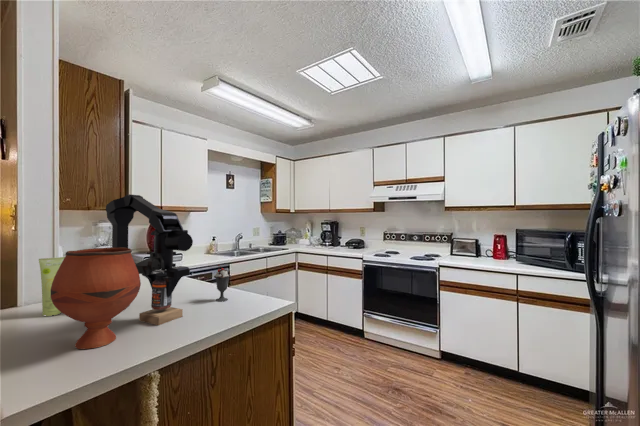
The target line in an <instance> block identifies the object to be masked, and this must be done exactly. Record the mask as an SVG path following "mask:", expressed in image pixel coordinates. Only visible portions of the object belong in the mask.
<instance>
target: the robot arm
mask: <svg viewBox="0 0 640 426" xmlns="http://www.w3.org/2000/svg"><path fill="white" fill-rule="evenodd" d="M105 212H106V218H107V220H108V221H109V222H110V224H111V227H112V231H111V232H112V233H111V234H112V235H111V237H112V238H111V241H112V242H111V243H112V244H111V247H124V248H129V225H130V224H131V222H132V221H133V219H134V215H135V213H136V212H139V213H140V214H141V215H143V216H144V217H146V218H147V219H148V223H149V224H150V226H152V228H154V230H152V231H151V233H150V235H151V236H154V243H153V244H154V246H153V252H150V253H149V257H148V258H144V259H143V260H141V261H138V262H136V263H135V265H136V267H137V270H138V272H139V275H141V276H142V277H144V278H146V279H148V282H149V285H150V287H151V289H152V284H153V281H155V280H156V274H159V273H166V274H167V276H168V277H163V279H164V280H165V281H166V293H167V297H170V296H171V294H172V295H173V293H174V291H175V289H176V287H177V285H178V284H179V281H180V280H181V279H182V278H184V277H187V276H190V273H191V269H190V268H189V266H184V265H183V266H182V265H178V266H177V265H176V263H174V255H177V252H178V251H180V252H186V251H189V250H190V249H191V248H192V246H193V242H194V240H193V238H192V236H191V235H190V234H189V230H188V229H184V227H183V226H182V225H183V224H182V223H181V222H180V219H179V217H178V215H177V213H176V212H173V211H170V210H166V209H161V208H159V207H158V206H157V205H155V204H153V203H152V202H150V201H148V200H147V199H146V198H144V197H143V196H142V195H140V194H126V195H125V196H123V197H119V198H116V199H113V200H111V201H110V202H108V203H107V204H106V206H105Z"/></svg>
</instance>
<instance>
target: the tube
mask: <svg viewBox="0 0 640 426" xmlns="http://www.w3.org/2000/svg"><path fill="white" fill-rule="evenodd" d="M64 258H65V256H62V257H61V256H58V257H45V258H38V263H39V269H40V270H39V271H40V280H41V301H42V304H41V305H42V306H41V307H42V316H43V315H46V316H45V317H53V316H52V315H54V316H57V315H61V314H62V313H61V312H60V311H59V310H58V309H57V308H56V307H55V306H54V304H53V302H52V300H51V286H52V282H53V280H54V277H55V275H56V273H57V271H58V269H59V267H60V265H61V263H62V262H63V260H64ZM60 313H61V314H60Z"/></svg>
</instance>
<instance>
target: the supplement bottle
mask: <svg viewBox="0 0 640 426" xmlns="http://www.w3.org/2000/svg"><path fill="white" fill-rule="evenodd" d="M163 277H168V276H167V274H166V273H159V274H156V280H155V281H153V284H152V288H151V303H150V304H151V305H150V306H151V310H152V309H155V310H161V309H167V308H169V307H172V301H173V300H172V298H173V293H172V294H171V296H170V297H167V293H166V281H165V280H164V279H163Z"/></svg>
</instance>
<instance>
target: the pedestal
mask: <svg viewBox="0 0 640 426" xmlns="http://www.w3.org/2000/svg"><path fill="white" fill-rule="evenodd" d="M183 313H184V312H183V309H182V308H177V307H172V306H170V307H169V308H167V309H161V310H155V309H152V308H151V309H150V310H146V311H142V312H140V313H139V314H138V316H139V317H138V319H139V320H138V321H139V322H142V323H147V324H150V325H154V326H155V325H156V326H161V325H164V324H166V323H169V322H172V321H175V320H177V319H180V318H182V317H183V315H184V314H183Z"/></svg>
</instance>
